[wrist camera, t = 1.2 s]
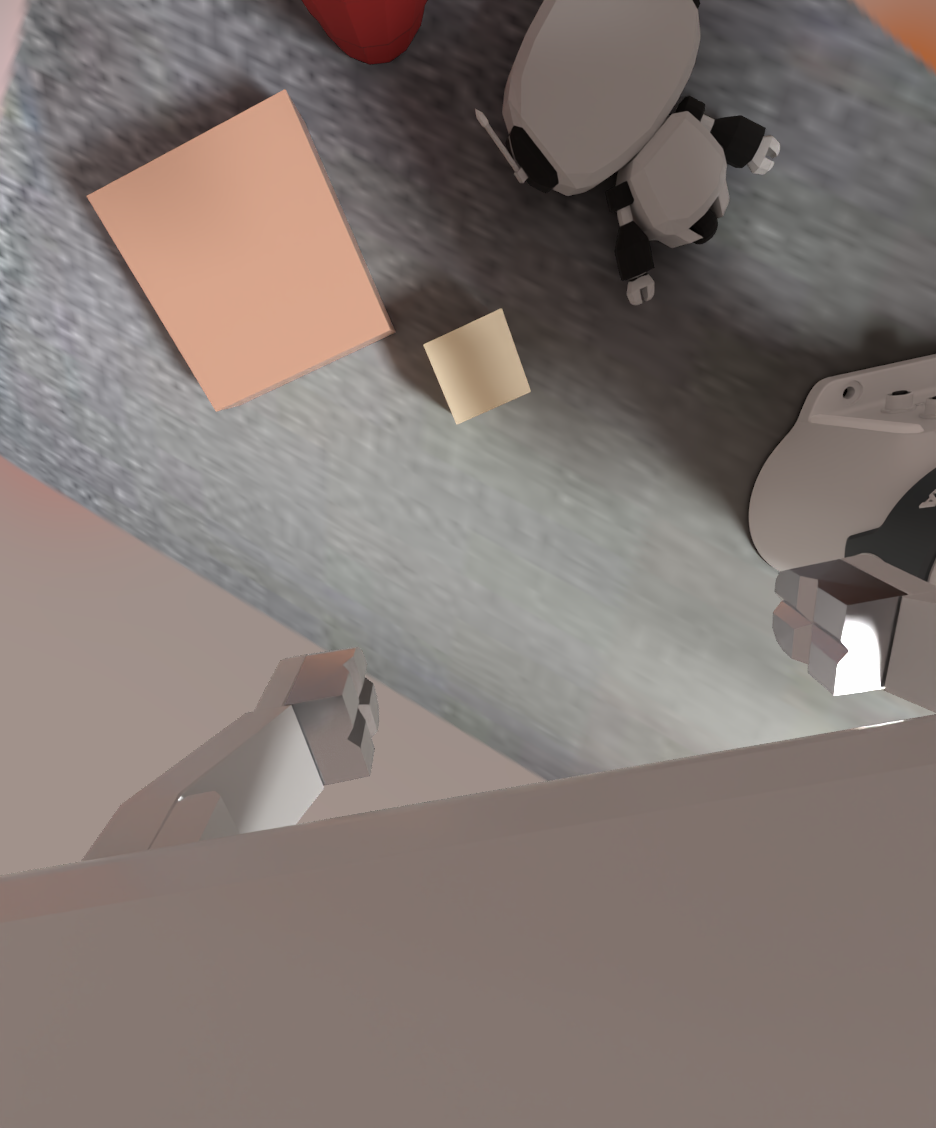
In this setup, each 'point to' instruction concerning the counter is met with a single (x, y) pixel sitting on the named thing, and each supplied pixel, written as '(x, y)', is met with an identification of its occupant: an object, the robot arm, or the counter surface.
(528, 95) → the robot toy
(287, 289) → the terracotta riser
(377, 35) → the plastic cup
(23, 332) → the counter surface
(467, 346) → the maple cube
